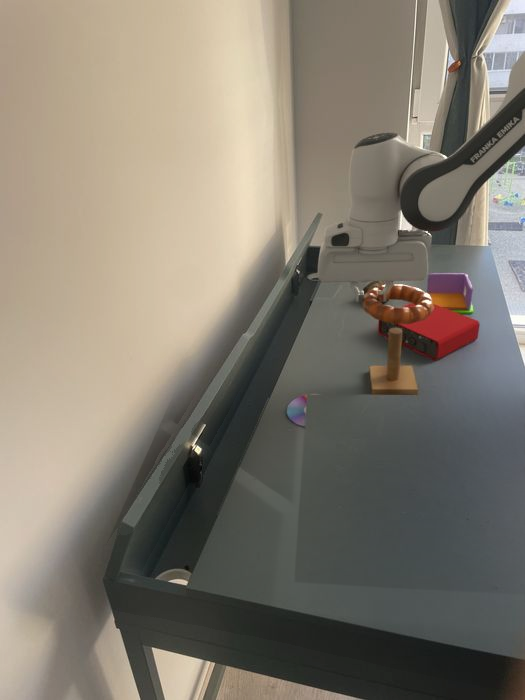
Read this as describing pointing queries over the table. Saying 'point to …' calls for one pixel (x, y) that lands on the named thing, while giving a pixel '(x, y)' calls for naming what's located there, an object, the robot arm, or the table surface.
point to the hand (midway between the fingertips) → (370, 300)
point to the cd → (298, 410)
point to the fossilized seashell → (372, 285)
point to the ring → (399, 313)
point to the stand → (393, 371)
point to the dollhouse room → (451, 291)
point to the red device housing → (435, 332)
